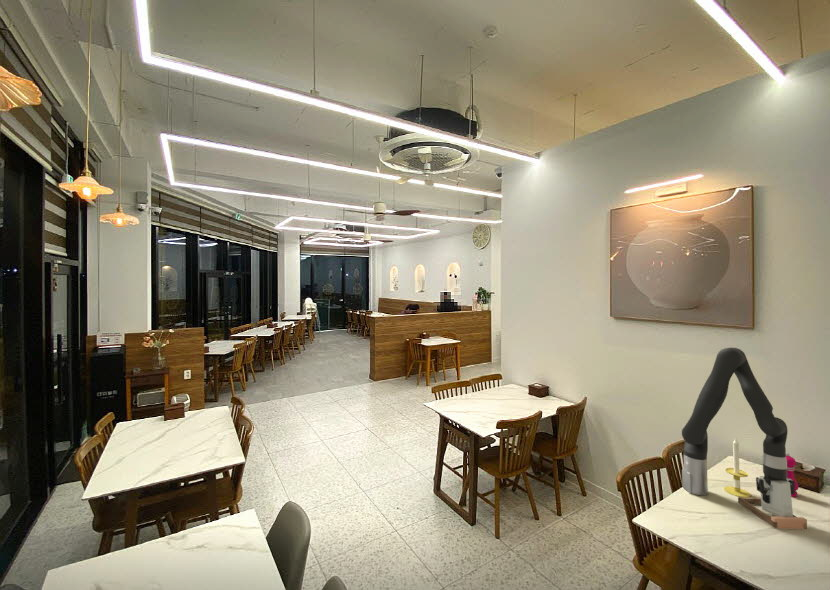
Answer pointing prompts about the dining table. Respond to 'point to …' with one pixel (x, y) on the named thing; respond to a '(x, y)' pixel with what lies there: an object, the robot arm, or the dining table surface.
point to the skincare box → (778, 499)
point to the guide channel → (748, 503)
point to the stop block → (790, 522)
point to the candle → (736, 474)
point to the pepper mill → (791, 471)
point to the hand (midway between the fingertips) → (775, 502)
